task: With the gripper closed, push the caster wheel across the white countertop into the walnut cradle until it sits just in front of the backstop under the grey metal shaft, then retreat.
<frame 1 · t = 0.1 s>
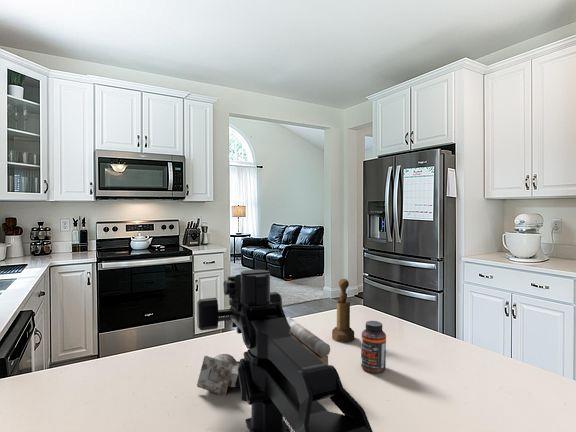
hand: (231, 301, 87), 17 cm above the countertop, tool horizontal, fingers open, 9 cm apart
cradle: (303, 369, 87), on the countertop
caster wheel: (231, 385, 80), on the countertop
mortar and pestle: (343, 339, 108), on the countertop
supplement bottle: (373, 369, 88), on the countertop
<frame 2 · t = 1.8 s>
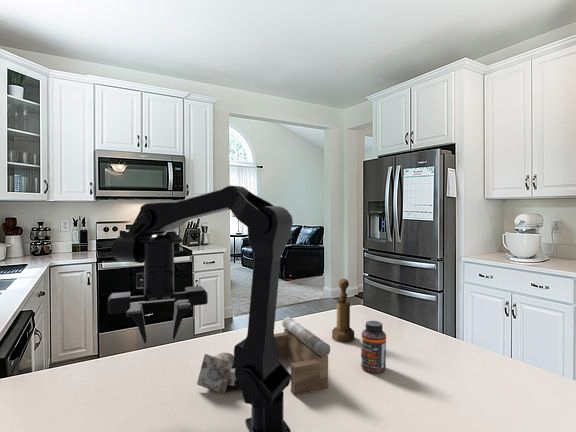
hand: (159, 340, 73), 12 cm above the countertop, tool pointing down, fingers open, 5 cm apart
nothing on the countertop moved.
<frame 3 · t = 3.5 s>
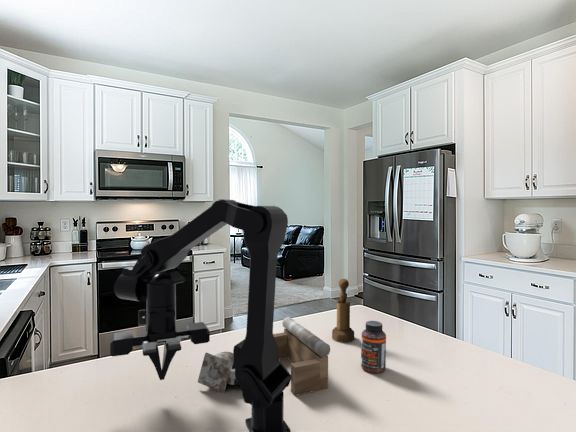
hand: (161, 379, 74), 4 cm above the countertop, tool pointing down, fingers closed
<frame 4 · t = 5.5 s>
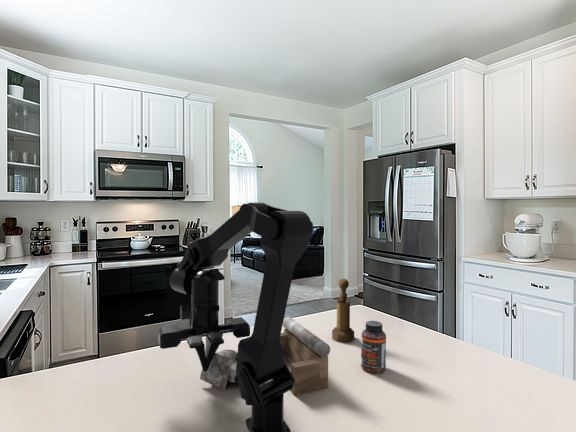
hand: (204, 371, 77), 4 cm above the countertop, tool pointing down, fingers closed
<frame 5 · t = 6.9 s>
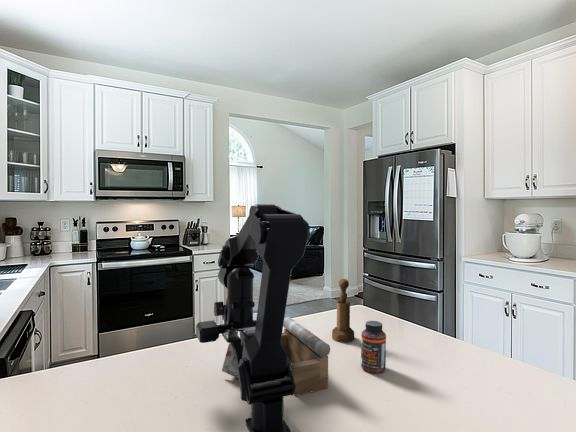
hand: (239, 364, 80), 4 cm above the countertop, tool pointing down, fingers closed
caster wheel: (254, 373, 85), on the countertop, touching gripper
everything else where it was.
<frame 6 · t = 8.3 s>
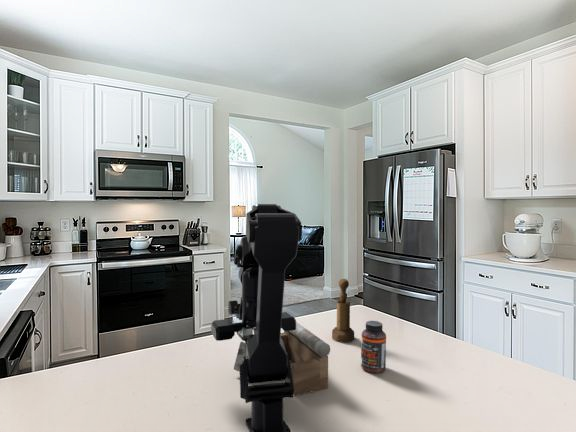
hand: (254, 362, 81), 4 cm above the countertop, tool pointing down, fingers closed
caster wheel: (264, 369, 87), on the countertop, touching gripper
everything else where it was.
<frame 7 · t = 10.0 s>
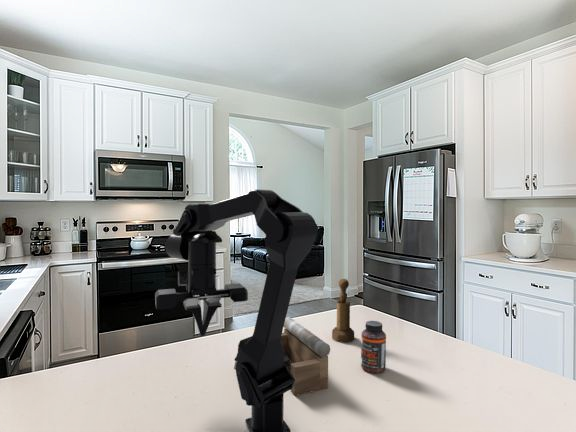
hand: (202, 335, 77), 12 cm above the countertop, tool pointing down, fingers closed
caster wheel: (264, 370, 87), on the countertop
everything else where it was.
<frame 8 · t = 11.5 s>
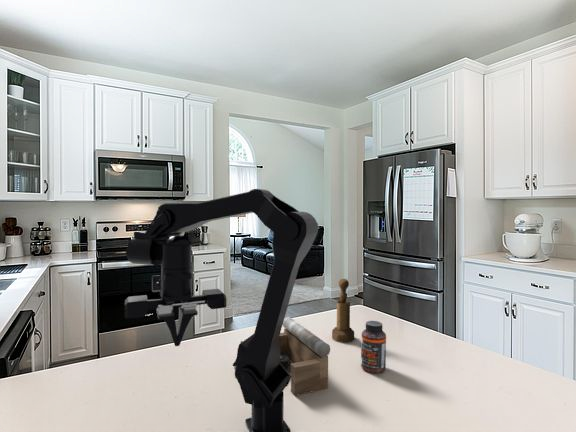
hand: (177, 345, 71), 12 cm above the countertop, tool pointing down, fingers closed
nothing on the countertop moved.
at the end: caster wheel inside the target area (5.0 cm from its centre), on the countertop; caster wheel moved 10.6 cm from its start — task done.
